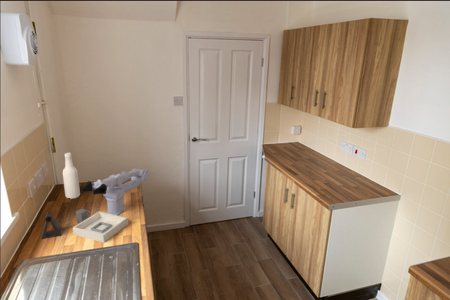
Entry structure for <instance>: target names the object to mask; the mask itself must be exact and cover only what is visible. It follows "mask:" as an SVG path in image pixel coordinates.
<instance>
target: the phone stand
mask: <svg viewBox="0 0 450 300" xmlns="http://www.w3.org/2000/svg"><path fill="white" fill-rule="evenodd" d="M49 224H50V225H51V226H52V228H53V230H51V231H48V225H49ZM61 236H62V228H61V227H60V225H59V223H58V221H57V220H56V218H55V217H54V213H53V211H46V214H45V222H44V225H43V230H42V233H41V238H40V239H41V240H44V239H46V240H47V239H51V238H56V237H61Z"/></svg>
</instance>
